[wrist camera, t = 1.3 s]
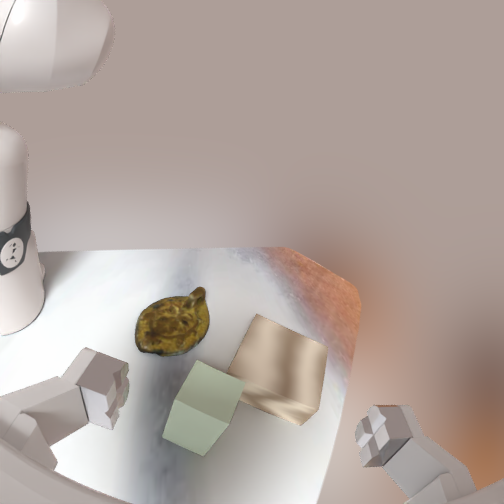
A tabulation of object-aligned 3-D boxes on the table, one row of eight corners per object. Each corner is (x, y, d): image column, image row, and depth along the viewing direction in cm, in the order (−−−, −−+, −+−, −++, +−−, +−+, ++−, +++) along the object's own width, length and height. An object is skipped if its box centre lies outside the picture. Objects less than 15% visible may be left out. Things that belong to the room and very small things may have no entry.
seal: (168, 378, 35) (220, 320, 48) (177, 362, 33) (232, 301, 45) (115, 334, 36) (176, 286, 49) (119, 313, 34) (184, 266, 47)
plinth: (217, 391, 35) (228, 370, 33) (245, 335, 46) (256, 313, 43) (299, 426, 34) (318, 409, 32) (312, 366, 44) (328, 346, 42)
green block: (161, 436, 27) (174, 398, 22) (179, 405, 31) (196, 359, 26) (203, 456, 26) (229, 424, 22) (217, 423, 31) (245, 382, 26)
